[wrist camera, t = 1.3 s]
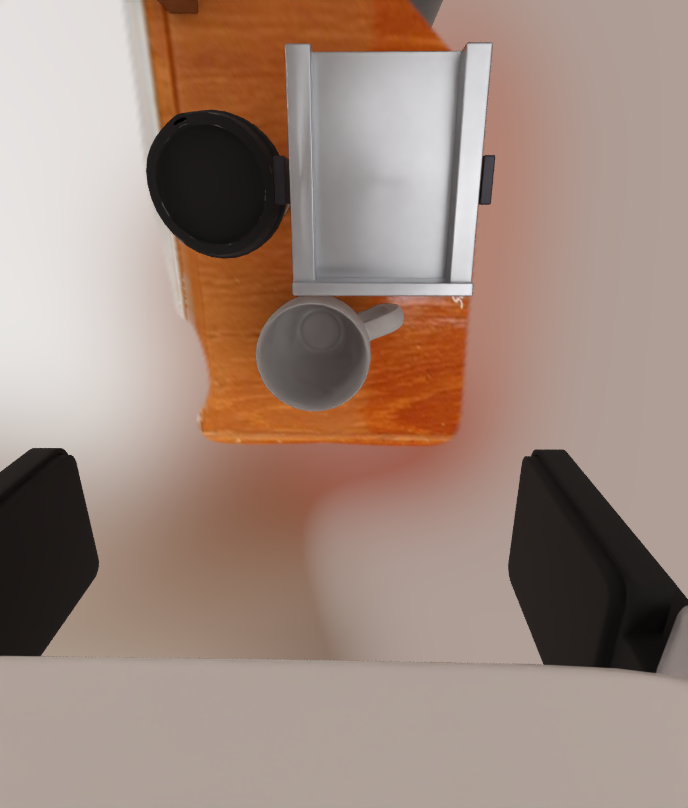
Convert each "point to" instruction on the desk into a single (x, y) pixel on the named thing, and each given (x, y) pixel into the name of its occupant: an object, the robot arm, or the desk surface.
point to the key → (180, 6)
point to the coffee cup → (215, 183)
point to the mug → (320, 349)
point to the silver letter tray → (385, 169)
